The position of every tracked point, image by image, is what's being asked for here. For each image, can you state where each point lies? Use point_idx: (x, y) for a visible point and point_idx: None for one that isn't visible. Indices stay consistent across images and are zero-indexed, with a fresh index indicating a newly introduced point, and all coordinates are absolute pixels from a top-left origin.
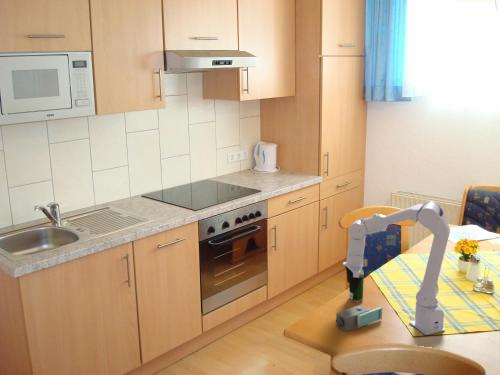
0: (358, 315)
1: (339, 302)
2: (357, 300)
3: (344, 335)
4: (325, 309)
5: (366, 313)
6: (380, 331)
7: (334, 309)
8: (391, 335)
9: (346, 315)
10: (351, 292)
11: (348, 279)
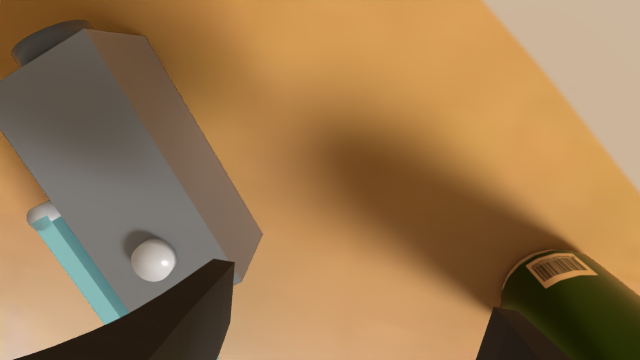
0: (43, 218)
1: (528, 158)
2: (501, 294)
3: (8, 64)
4: (430, 11)
5: (81, 290)
6: (73, 305)
7: (416, 88)
8: (27, 348)
9: (37, 114)
10: (561, 286)
11: (509, 343)
